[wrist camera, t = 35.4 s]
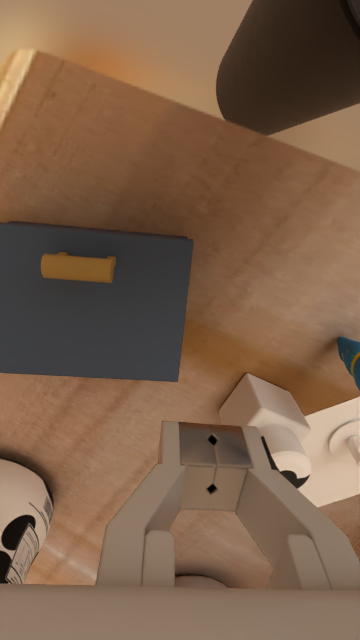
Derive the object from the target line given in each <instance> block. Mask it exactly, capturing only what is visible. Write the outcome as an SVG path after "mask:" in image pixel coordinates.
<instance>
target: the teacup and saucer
mask: <svg viewBox="0 0 360 640" xmlns="http://www.w3.org/2000/svg"><path fill="white" fill-rule="evenodd" d="M357 433H358V434H360V419H359V420H354V421H351V422H348V423H346V424H344V425H342V426H341V427H340V428H338V429H337V430H336V431H335V432H334V433H333V434H332V436H331V437H330V439H329V442H328V451H329V453H330V455H331V456H332V457H333V458H334V459H336V460H338V461H340V462H345V463H353V462H355V463H356V465H357V466H358V468H359V469H360V435H357Z"/></svg>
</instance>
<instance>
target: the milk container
mask: <svg viewBox="0 0 360 640" xmlns="http://www.w3.org/2000/svg"><path fill="white" fill-rule="evenodd" d="M52 514H53V497H52V493H51V491H50V489H49V486H48V485H47V483H46V482H45V481H44V480H43V479H42V478H41V477H40V476H39V475H38V474H37V473H36V472H35V471H33V470H32V469H30V468H28V467H26V466H24V465H22V464H20V463H18V462H16V461H12V460H8V459H4V458H0V584H24V581H25V578H26V576H27V573H28V571H29V568H30V566H31V564H32V562H33V561H34V559H35V557H36V556H37V554H38V553H39V551H40V549H41V547H42V546H43V544H44V542H45V540H46V537H47V535H48V532H49V529H50V525H51V521H52Z"/></svg>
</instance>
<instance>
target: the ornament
mask: <svg viewBox="0 0 360 640" xmlns="http://www.w3.org/2000/svg"><path fill="white" fill-rule="evenodd" d="M337 343H338V350H339V356H340V358H341V360H342V361H343V362H344V363H345V365H346V368H347V370H348V371H349V373H350V374H351V375H352V376H353V377H354V379H355V382H356V385H357V387H358V389H359V390H360V342H357V341H353V340H350V339H347V338H344V337H339V338H338V339H337Z"/></svg>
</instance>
